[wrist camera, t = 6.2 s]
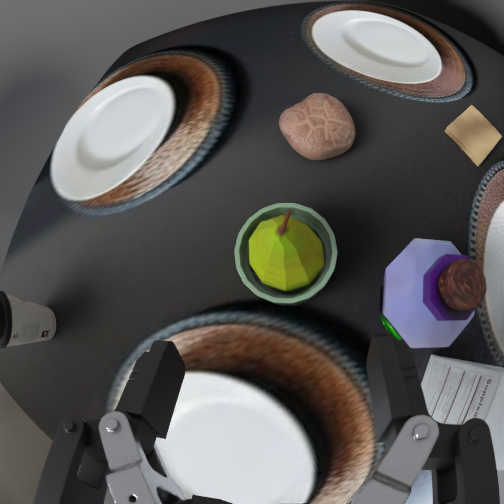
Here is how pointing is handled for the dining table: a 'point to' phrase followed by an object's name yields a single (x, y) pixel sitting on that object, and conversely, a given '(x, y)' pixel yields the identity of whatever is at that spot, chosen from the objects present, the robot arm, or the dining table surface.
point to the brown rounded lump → (318, 127)
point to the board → (474, 134)
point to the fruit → (285, 253)
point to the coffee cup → (24, 321)
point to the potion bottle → (430, 293)
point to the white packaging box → (466, 396)
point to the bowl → (301, 215)
